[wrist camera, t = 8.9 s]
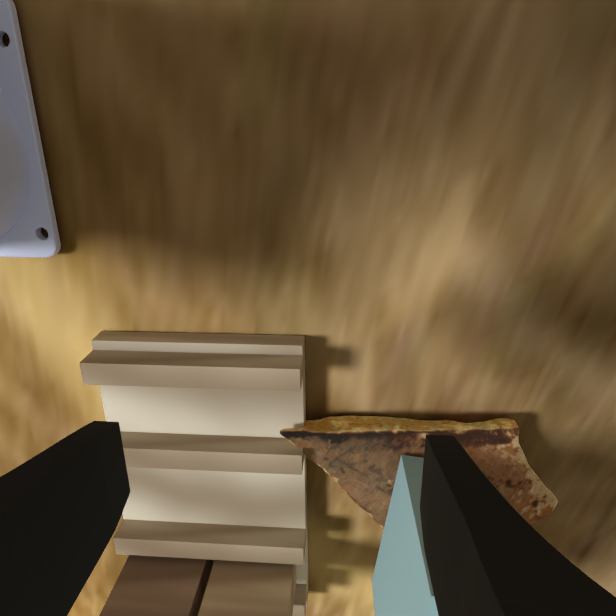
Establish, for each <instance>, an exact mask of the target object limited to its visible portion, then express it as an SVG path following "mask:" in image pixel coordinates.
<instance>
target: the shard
mask: <svg viewBox="0 0 616 616" xmlns="http://www.w3.org/2000/svg"><path fill="white" fill-rule="evenodd" d="M280 434H281V435H282V436H283V437H285V438H286V439H287V440H289V441H290V442H291V443H293V444H294V445H295V446H296V447H303V454H304V455H305V456H306V457H307V458H308V459H310V460H311V461H312V462H314V463H315V464H316V465H318V466H320V467H321V468H323V469H324V471H325V472H326V473H327V474H329V475H330V476H331V477H332V478H333V479H334V480H335V481H336V482H337V483H338V484H339V485H340V486H341V487H342V488H343V489H344V490H345V491H346V493H347V494H348V495H349V496H350V497H351V498H352V500H353V501H354V502H355V503H356V504H358V505H359V506H360V507H361V508H362V509H364V510H365V511H366V512H367V513H368V514H369V515H371V517H372V518H373V519H374V521H375V522H376V523H378V524H379V525H380V526H381V527H382V528H383V529H384V526H385V522H386V518H387V513H388V509H389V505H390V501H391V496H392V492H393V488H394V483H395V479H396V475H397V470H398V466H399V462H400V457H401V455H407V456H414V457H421V458H424V450H425V438H426V434H427V435H452V436H454V437H455V438H456V439H457V440H458V441H459V443H460V444H461V445H462V447H463V448H464V449H465V450H466V452H467V453H468V454H469V456H470V457H471V458H472V460H473V461H474V462H475V463H476V465H477V466H478V467H479V468H480V470H481V471H482V472H483V473H484V475H485V476H486V477H487V478H488V479H489V481H490V482H491V483H492V484H493V485H494V486H495V487H496V489H497V490H498V491H499V492H500V493H501V494H502V495H503V497H504V498H505V499H506V500H507V501H508V502H509V503H510V504H511V506H512V507H513V508H514V509H515V510H516V511H517V512H518V513H519V514H520V515H521V516H522V517H523V518H524V519H525V520H526V521H527V522H528V523H529V524H532V523H534V522H536V521H538V520H540V519H542V518H544V517H545V516H547V515H548V514H550V513H551V512H553V511H554V508H555V506H556V505H557V503H558V500H557V499H556V497H555V496H554V495H553V493H552V492H551V491H550V490H549V489H548V488H547V487H546V486H545V485H544V484H543V483H542V481H541V480H540V479H539V477H538V476H537V475H536V474H535V472H534V471H533V470H532V468H531V467H530V466H529V464H528V462H527V459H526V457H525V455H524V453H523V451H522V448H521V446H520V444H519V439H518V436H519V426H518V424H517V423H516V422H515V420H511V419H509V418H495V419H493V420H488V421H482V422H474V423H463V422H457V421H450V420H426V421H425V420H415V419H408V418H394V417H379V416H339V417H326V418H323V419H318V420H305V423H304V427H301V428H287V429H283V430H280Z"/></svg>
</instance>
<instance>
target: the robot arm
mask: <svg viewBox="0 0 616 616" xmlns="http://www.w3.org/2000/svg"><path fill="white" fill-rule="evenodd" d="M4 33H7V34H8V36H9V38H10V44H9V45H8V47H6V46H5V45H4V43H3V41H2V37H3V35H4ZM41 228H44V229H45V230H47V232H48V238H46V237H44V236H43V235H42V233H41ZM60 249H61V243H60V238H59V233H58V228H57V222H56V217H55V212H54V206H53V201H52V196H51V191H50V185H49V180H48V175H47V170H46V164H45V159H44V154H43V148H42V143H41V138H40V133H39V127H38V122H37V117H36V112H35V106H34V101H33V96H32V90H31V85H30V80H29V75H28V69H27V64H26V59H25V54H24V48H23V43H22V38H21V33H20V27H19V22H18V17H17V11H16V7H15V4H14V2H13V0H0V257H43V258H48V257H52V256H54V255H56V254H57V253H58V252H59V251H60ZM130 492H131V491H130V485H129V479H128V473H127V467H126V461H125V456H124V450H123V444H122V438H121V432H120V426H119V422H106V421H93V422H92V423H90V424H88V425H86V426H84V427H82V428H80V429H79V430H77V431H75V432H74V433H72V434H70V435H69V436H67V437H66V438H64V439H62V440H61V441H59V442H57V443H56V444H54V445H53V446H51V447H49V448H48V449H46V450H45V451H43V452H41V453H40V454H38V455H36V456H35V457H33V458H32V459H30V460H28V461H27V462H25V463H23V464H22V465H20V466H19V467H17V468H15V469H14V470H12V471H10V472H8V473H7V474H5V475H3V476H1V477H0V616H67V614H68V613H69V611H70V609H71V607H72V606H73V604H74V602H75V600H76V599H77V597H78V595H79V593H80V592H81V590H82V588H83V586H84V585H85V583H86V581H87V579H88V578H89V576H90V574H91V572H92V571H93V569H94V567H95V565H96V564H97V562H98V560H99V558H100V557H101V555H102V553H103V551H104V549H105V548H106V546H107V544H108V542H109V540H110V539H111V537H112V535H113V533H114V531H115V529H116V527H117V524H118V522H119V519H120V517H121V515H122V512H123V510H124V507H125V504H126V502H127V499H128V497H129V494H130ZM420 514H421V525H422V534H423V544H424V551H425V556H426V561H427V565H428V570H429V574H430V579H431V584H432V588H433V593H434V597H435V602H436V606H437V611H438V615H439V616H616V597H614V596H613V595H612V594H610V593H609V592H608V591H607V590H605V589H604V588H603V587H601V586H600V585H599V584H597V583H596V582H595V581H593V580H592V579H591V578H589V577H588V576H587V575H586V574H584V573H583V572H582V571H581V570H580V569H578V568H577V567H576V566H575V565H573V564H572V563H571V562H570V561H569V560H568V559H567V558H565V557H564V556H563V555H562V554H561V553H560V552H559V551H557V550H556V549H555V548H554V547H553V546H552V545H551V544H549V543H548V542H547V541H546V540H545V539H544V538H543V537H542V536H541V535H540V534H539V533H538V532H537V531H535V529H534V528H533V527H532V526H531V525H530V524H529V523H528V522H527V521H526V520H525V519H524V518H523V517H522V516H521V515H520V514H519V513H518V512H517V511H516V510H515V509H514V508H513V507H512V506H511V504H510V503H509V502H508V501H507V500H506V499H505V498H504V497H503V495H502V494H501V493H500V492H499V491H498V490H497V489H496V487H495V486H494V485H493V484H492V483H491V482H490V481H489V479H488V478H487V477H486V476H485V475H484V473H483V472H482V471H481V470H480V468H479V467H478V466H477V465H476V463H475V462H474V461H473V460H472V458H471V457H470V456H469V454H468V453H467V452H466V450H465V449H464V448H463V447H462V445H461V444H460V443H459V441H458V440H457V439H456V438H455V437H454V436H452V435H427V434H426V438H425V450H424V462H423V474H422V486H421V497H420Z"/></svg>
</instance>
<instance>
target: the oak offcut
mask: <svg viewBox="0 0 616 616" xmlns="http://www.w3.org/2000/svg"><path fill="white" fill-rule="evenodd" d="M296 579H297V578H296V565H295V564H277V563H260V562H243V561H226V560H214V564H213V567H212V570H211V574H210V577H209V580H208V584H207V587H206V590H205V593H204V597H203V600H202V603H201V607H200V610H199V613H198V616H292V613H293V604H294V596H295V588H296Z"/></svg>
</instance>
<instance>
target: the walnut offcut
mask: <svg viewBox="0 0 616 616" xmlns="http://www.w3.org/2000/svg"><path fill="white" fill-rule="evenodd" d="M212 567H213V560H209V559H191V558H174V557H157V556H140V555H129V557H128V559H127V561H126V563H125V565H124V567H123V569H122V571H121V573H120V575H119V577H118V579H117V581H116V583H115V585H114V587H113V589H112V591H111V593H110V595H109V597H108V599H107V601H106V604H105V606H104V608H103V610H102V612H101V614H100V616H198V613H199V610H200V607H201V603H202V600H203V597H204V593H205V590H206V587H207V584H208V580H209V577H210V574H211V570H212Z"/></svg>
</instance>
